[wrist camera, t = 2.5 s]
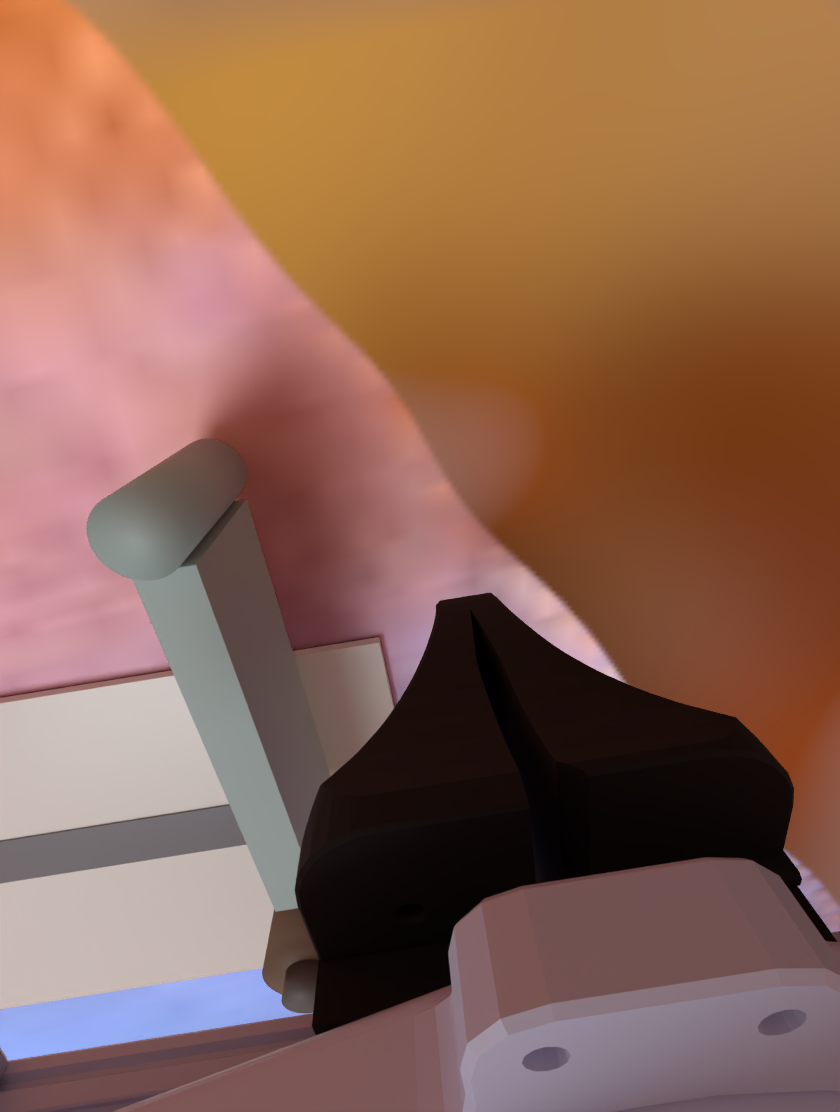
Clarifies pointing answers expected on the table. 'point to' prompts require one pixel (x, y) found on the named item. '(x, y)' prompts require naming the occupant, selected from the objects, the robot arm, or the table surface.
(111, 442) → the table surface
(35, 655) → the table surface
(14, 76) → the table surface
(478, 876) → the robot arm
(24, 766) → the card
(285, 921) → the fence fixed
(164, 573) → the fence panel
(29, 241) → the table surface
